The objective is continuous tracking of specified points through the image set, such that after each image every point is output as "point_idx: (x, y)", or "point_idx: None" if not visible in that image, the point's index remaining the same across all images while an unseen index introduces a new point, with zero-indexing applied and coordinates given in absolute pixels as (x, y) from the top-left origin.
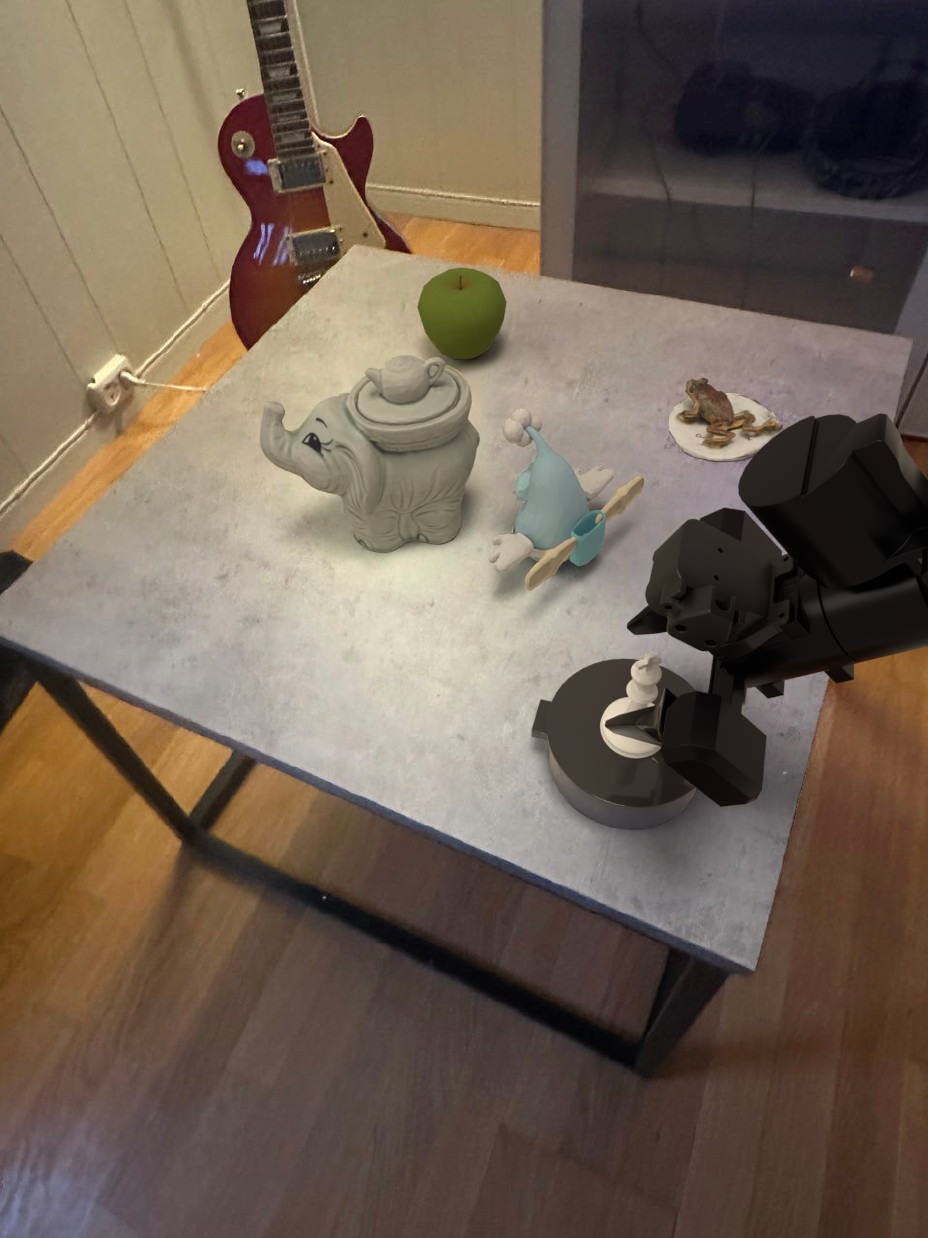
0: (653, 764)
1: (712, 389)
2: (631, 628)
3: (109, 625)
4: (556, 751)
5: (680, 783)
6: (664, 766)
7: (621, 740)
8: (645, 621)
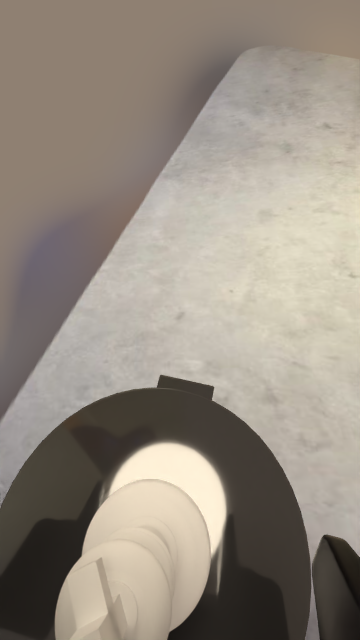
0: None
1: None
2: (323, 554)
3: (261, 83)
4: (109, 402)
5: None
6: None
7: (107, 519)
8: (353, 626)
